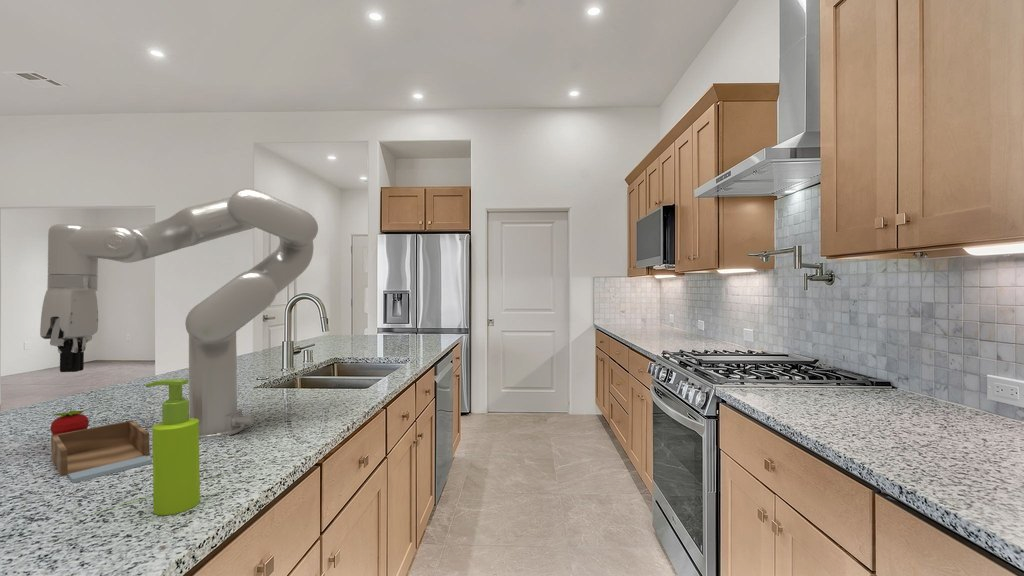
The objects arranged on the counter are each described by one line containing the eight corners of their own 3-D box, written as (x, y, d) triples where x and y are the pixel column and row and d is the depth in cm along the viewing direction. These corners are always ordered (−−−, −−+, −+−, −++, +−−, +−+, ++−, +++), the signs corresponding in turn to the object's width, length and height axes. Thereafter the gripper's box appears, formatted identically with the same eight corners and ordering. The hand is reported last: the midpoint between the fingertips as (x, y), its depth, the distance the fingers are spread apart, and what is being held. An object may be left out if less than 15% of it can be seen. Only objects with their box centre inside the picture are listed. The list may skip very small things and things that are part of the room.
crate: (51, 462, 89) (51, 435, 89) (132, 445, 99) (132, 420, 99) (61, 481, 80) (61, 450, 80) (149, 459, 90) (149, 432, 90)
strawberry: (47, 458, 92) (46, 409, 92) (54, 448, 98) (53, 402, 98) (86, 451, 95) (86, 404, 95) (91, 442, 101) (90, 398, 101)
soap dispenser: (163, 498, 73) (161, 376, 73) (207, 496, 74) (206, 375, 74) (136, 517, 67) (134, 384, 67) (185, 514, 68) (182, 383, 68)
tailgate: (66, 473, 81) (71, 479, 78) (145, 455, 90) (152, 459, 86) (67, 477, 81) (71, 483, 78) (145, 458, 90) (152, 463, 86)
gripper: (75, 284, 100) (74, 366, 100) (22, 283, 86) (20, 378, 86) (115, 284, 102) (114, 365, 102) (70, 283, 88) (68, 377, 88)
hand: (71, 371), depth 94 cm, fingers closed
